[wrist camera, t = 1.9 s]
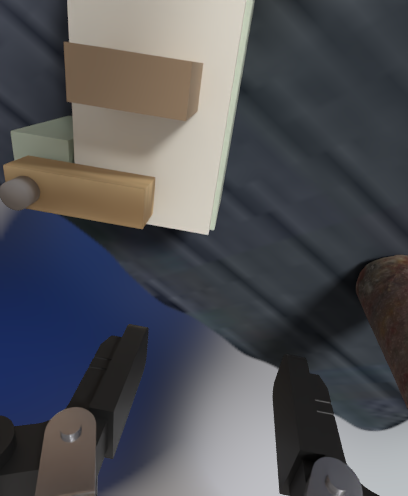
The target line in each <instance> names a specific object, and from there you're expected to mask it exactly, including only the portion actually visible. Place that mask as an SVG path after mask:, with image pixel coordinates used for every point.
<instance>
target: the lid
mask: <svg viewBox="0 0 408 496" xmlns="http://www.w3.org/2000/svg"><path fill="white" fill-rule="evenodd" d="M246 2H247V0H67V7H68V29H69V42H64V58H65V77H66V96H67V102H72V117H73V140H74V162H75V164H81V165H87V166H93V167H99V168H105V169H110V170H116V171H122V172H128V173H134V174H139V175H145V176H151V177H155V191H154V205H153V214H152V216H151V217H150V219H149V220H148V222H147V223H146V224H149V225H155V226H161V227H166V228H172V229H178V230H183V231H189V232H195V233H200V234H206V235H208V233H209V229H210V224H211V218H212V212H213V205H214V199H215V193H216V187H217V181H218V175H219V168H220V162H221V156H222V150H223V144H224V138H225V131H226V125H227V119H228V113H229V107H230V101H231V94H232V88H233V82H234V76H235V70H236V64H237V57H238V51H239V45H240V39H241V33H242V27H243V20H244V14H245V8H246Z"/></svg>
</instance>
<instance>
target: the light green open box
mask: <svg viewBox="0 0 408 496" xmlns="http://www.w3.org/2000/svg"><path fill="white" fill-rule="evenodd" d="M254 3H255V0H247V2H246V8H245V14H244V20H243V27H242V33H241V39H240V45H239V51H238V57H237V64H236V70H235V76H234V82H233V88H232V94H231V101H230V107H229V113H228V119H227V125H226V131H225V138H224V144H223V150H222V156H221V162H220V168H219V175H218V181H217V187H216V193H215V199H214V205H213V212H212V218H211V224H210V230H214V229H215V224H216V219H217V215H218V210H219V205H220V201H221V195H222V189H223V183H224V178H225V172H226V166H227V160H228V154H229V149H230V143H231V137H232V131H233V125H234V119H235V114H236V108H237V102H238V96H239V90H240V84H241V79H242V73H243V67H244V61H245V55H246V49H247V44H248V38H249V32H250V26H251V20H252V14H253V9H254ZM11 138H12V146H13V154H14V161H15V160H17V159H20V158H22V157H25V156H28V155H29V156H35V157H40V158H46V159H52V160H58V161H64V162H70V163H75V162H74V140H73V117H72V116H66V117H62V118H58V119H54V120H51V121H47V122H43V123H39V124H35V125H31V126H27V127H24V128H20V129H16V130H12V131H11Z"/></svg>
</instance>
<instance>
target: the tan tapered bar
mask: <svg viewBox="0 0 408 496" xmlns="http://www.w3.org/2000/svg"><path fill="white" fill-rule="evenodd" d="M3 168H4V175H5V183H3V184H2V185H1V186H0V198H1V200H2V202H3V203H4V204H5V205H6V206H7V207H9V208H11V209H13V210H23V209H24V208H26V209H32V210H38V211H43V212H49V213H54V214H60V215H65V216H71V217H77V218H82V219H88V220H94V221H99V222H105V223H110V224H116V225H122V226H127V227H133V228H138V229H143V228H144V226H145V225H146V223H147V222H148V220H149V219H150V217H151V216H152V214H153V205H154V191H155V177H151V176H145V175H139V174H134V173H128V172H122V171H116V170H110V169H105V168H99V167H93V166H87V165H81V164H75V163H70V162H64V161H58V160H52V159H46V158H40V157H35V156H29V155H28V156H25V157H22V158H20V159H17V160H15V161H12V162H10V163H7V164H5V165H3Z"/></svg>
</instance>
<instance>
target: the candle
mask: <svg viewBox="0 0 408 496" xmlns="http://www.w3.org/2000/svg"><path fill="white" fill-rule="evenodd" d="M356 294H357V296H358V298H359V301H360V303H361V305H362V308H363V310H364V312H365V315H366V317H367V319H368V321H369V323H370V326H371V328H372V330H373V332H374V334H375V336H376V339H377V341H378V343H379V345H380V348H381V350H382V352H383V354H384V356H385V359H386V361H387V363H388V365H389V367H390V369H391V371H392V374H393V376H394V378H395V381H396V383H397V385H398V388H399V390H400V393H401V395H402V397H403V399H404V401H405V404H406V406H407V408H408V255H406V256H405V255H395V256H392V257H385V258H381V259H378V260H375V261H373V262H370V263H369V264H367V265H366V266H365V267H364V268H363V269H362V271H361V272H360V274H359V277H358V280H357V282H356Z"/></svg>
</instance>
